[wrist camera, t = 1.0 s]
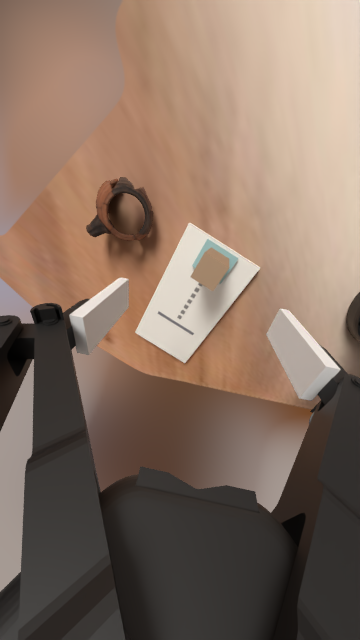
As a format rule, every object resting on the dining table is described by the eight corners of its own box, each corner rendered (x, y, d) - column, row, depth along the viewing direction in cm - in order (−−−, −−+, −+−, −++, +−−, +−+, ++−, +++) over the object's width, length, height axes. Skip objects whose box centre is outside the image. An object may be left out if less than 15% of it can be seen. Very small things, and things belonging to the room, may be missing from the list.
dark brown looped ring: (127, 162, 29) (127, 160, 23) (160, 216, 35) (167, 226, 29) (75, 208, 31) (63, 218, 25) (115, 252, 38) (112, 268, 31)
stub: (238, 258, 29) (242, 267, 21) (220, 283, 31) (217, 301, 23) (207, 238, 29) (199, 240, 20) (192, 265, 31) (179, 276, 23)
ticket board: (258, 266, 30) (260, 268, 29) (186, 359, 43) (184, 363, 42) (190, 223, 30) (189, 222, 29) (137, 329, 43) (134, 332, 42)
